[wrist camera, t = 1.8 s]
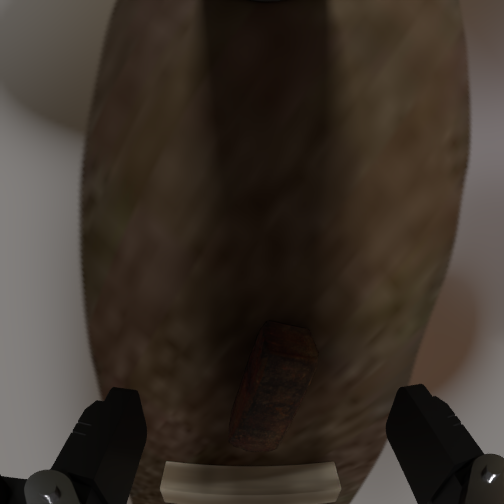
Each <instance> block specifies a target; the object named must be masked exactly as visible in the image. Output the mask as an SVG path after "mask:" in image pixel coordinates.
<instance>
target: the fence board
mask: <svg viewBox="0 0 504 504" xmlns="http://www.w3.org/2000/svg"><path fill="white" fill-rule="evenodd" d="M160 490H161V493H162V496H163V498H164V501H165V502H169V503H177V504H321V503H329V502H335V501H336V499H337V497H338V495H339V493H340V490H341V485H340V482H339V478H338V474H337V471H336V467H335V463H334V461H332V462H324V463H314V464H302V465H285V466H216V465H200V464H188V463H178V462H169V461H166V465H165V469H164V473H163V478H162V482H161V486H160Z"/></svg>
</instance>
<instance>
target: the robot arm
mask: <svg viewBox="0 0 504 504" xmlns="http://www.w3.org/2000/svg"><path fill="white" fill-rule="evenodd" d="M253 1H280V0H253ZM386 434H387V438H388V440H389V442H390V444H391V446H392V449H393V451H394V453H395V455H396V457H397V459H398V461H399V463H400V466H401V468H402V470H403V472H404V474H405V476H406V479H407V481H408V483H409V485H410V487H411V490H412V492H413V494H414V496H415V498H416V501H417V503H418V504H504V458H503V457H501V456H499V455H496V454H484V453H483V452H482V450H481V449H480V447H479V446H478V445H477V443H476V442H475V441H474V439H473V438H472V436H471V435H470V434H469V432H468V431H467V430H466V428H465V427H464V425H461V421H460V420H459V419H458V417H457V416H455V414H454V412H453V411H452V409H451V408H450V407H449V405H448V404H447V403H445V402H444V401H442V400H440V399H439V398H438V397H436V396H433V397H432V395H431V394H430V393H429V391H428V390H427V389H426V387H425V386H424V385H423V384H418V385H411V386H405V387H400V388H399V389H398V391H397V393H396V396H395V399H394V402H393V405H392V408H391V411H390V414H389V416H388V419H387V423H386ZM146 438H147V426H146V422H145V418H144V414H143V409H142V405H141V401H140V397H139V393H138V391H137V390H131V389H124V388H117V387H113V388H112V389H111V390H110V391H109V393H108V395H107V397H106V399H105V401H98V400H97V401H95V402H94V403H93V404H92V405H90V406H89V407H87V408H86V409H85V410H84V412H83V414H82V415H81V417H80V419H79V420H78V423H77V424H76V426H75V427H74V429H73V433H71V434H70V436H69V438H68V439H67V441H66V443H65V445H64V446H63V448H62V450H61V452H60V454H59V456H58V457H57V459H56V461H55V463H54V464H53V466H52V468H51V469H50V470H42V471H39V472H36V473H34V474H33V475H31V476H30V477H29V478H28V479H18V478H11V477H4V476H1V475H0V504H127V500H128V497H129V494H130V490H131V487H132V484H133V481H134V478H135V474H136V471H137V468H138V465H139V462H140V459H141V455H142V452H143V449H144V446H145V443H146Z"/></svg>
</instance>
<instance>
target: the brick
mask: <svg viewBox="0 0 504 504" xmlns="http://www.w3.org/2000/svg"><path fill="white" fill-rule="evenodd" d="M318 353H319V352H318V350H317V348H316V345H315V343H314V340H313V338H312V335H311V332H310V330H309V329H305V328H301V327H296V326H292V325H286V324H282V323H278V322H273V321H267V323H265V324H264V325H263V327H262V328H261V330H260V333H259V334H258V335H257V339H256V343H255V346H254V347H253V350H252V352H251V355H250V358H249V361H248V364H247V366H246V369H245V373H244V376H243V379H242V382H241V385H240V388H239V391H238V394H237V397H236V399H235V402H234V406H233V409H232V411H231V418H230V424H229V443H231V444H232V445H233V446H235V447H239V448H242V449H243V450H246V451H250V452H257V451H272V450H275V449H277V447H278V446H279V444H280V443H281V441H282V439H283V437H284V435H285V433H286V432H287V430H288V428H289V426H290V423H291V422H292V420H293V418H294V415H295V414H296V412H297V409H298V407H299V405H300V403H301V401H302V399H303V397H304V395H305V393H306V390H307V388H308V386H309V385H310V383H311V379H312V377H313V375H314V373H315V371H316V369H317V363H318Z"/></svg>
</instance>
